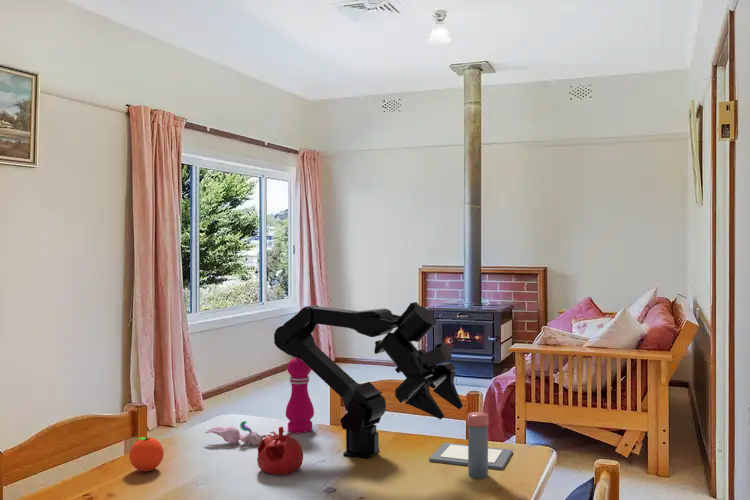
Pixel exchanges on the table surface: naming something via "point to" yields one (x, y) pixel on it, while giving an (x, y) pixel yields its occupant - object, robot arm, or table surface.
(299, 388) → the pepper mill
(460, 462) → the writing board
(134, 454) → the clementine
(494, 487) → the table surface
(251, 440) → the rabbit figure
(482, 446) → the cylinder
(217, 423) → the table surface
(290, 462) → the red round fruit
